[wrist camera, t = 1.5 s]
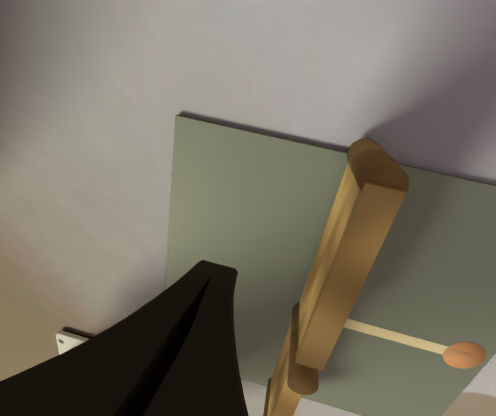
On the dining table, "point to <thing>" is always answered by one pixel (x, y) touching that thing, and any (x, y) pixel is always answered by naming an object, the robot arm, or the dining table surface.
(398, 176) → the fence panel
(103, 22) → the dining table surface
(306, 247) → the card
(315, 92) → the dining table surface
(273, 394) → the fence fixed
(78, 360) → the robot arm
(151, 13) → the dining table surface
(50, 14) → the dining table surface
